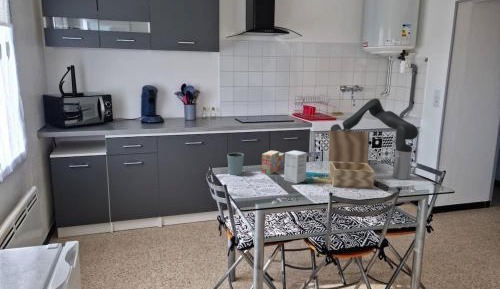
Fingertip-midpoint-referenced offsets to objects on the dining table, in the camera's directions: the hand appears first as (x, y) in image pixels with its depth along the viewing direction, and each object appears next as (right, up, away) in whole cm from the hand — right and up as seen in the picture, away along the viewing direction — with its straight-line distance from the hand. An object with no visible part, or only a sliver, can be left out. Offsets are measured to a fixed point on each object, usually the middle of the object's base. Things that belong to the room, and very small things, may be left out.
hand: (345, 140), depth 233 cm
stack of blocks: (-44, -19, +11) cm, 49 cm away
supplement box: (-33, -23, -10) cm, 41 cm away
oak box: (-1, -25, -12) cm, 27 cm away
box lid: (+1, -3, -5) cm, 6 cm away
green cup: (-68, -20, 0) cm, 71 cm away
